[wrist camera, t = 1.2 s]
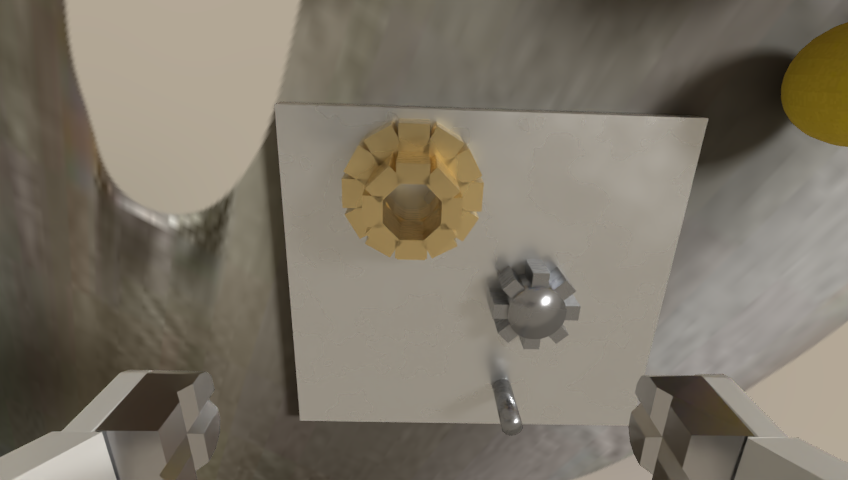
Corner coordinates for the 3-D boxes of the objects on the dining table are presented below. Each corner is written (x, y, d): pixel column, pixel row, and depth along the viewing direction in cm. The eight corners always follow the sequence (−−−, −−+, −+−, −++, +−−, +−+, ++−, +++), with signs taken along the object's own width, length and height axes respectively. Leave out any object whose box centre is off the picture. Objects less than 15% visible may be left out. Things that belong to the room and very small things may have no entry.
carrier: (304, 407, 32) (286, 464, 27) (280, 101, 24) (251, 111, 20) (624, 412, 32) (656, 468, 28) (695, 115, 25) (755, 127, 20)
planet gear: (348, 245, 26) (335, 282, 22) (345, 116, 23) (329, 129, 19) (473, 248, 26) (484, 285, 22) (483, 121, 24) (498, 135, 19)
